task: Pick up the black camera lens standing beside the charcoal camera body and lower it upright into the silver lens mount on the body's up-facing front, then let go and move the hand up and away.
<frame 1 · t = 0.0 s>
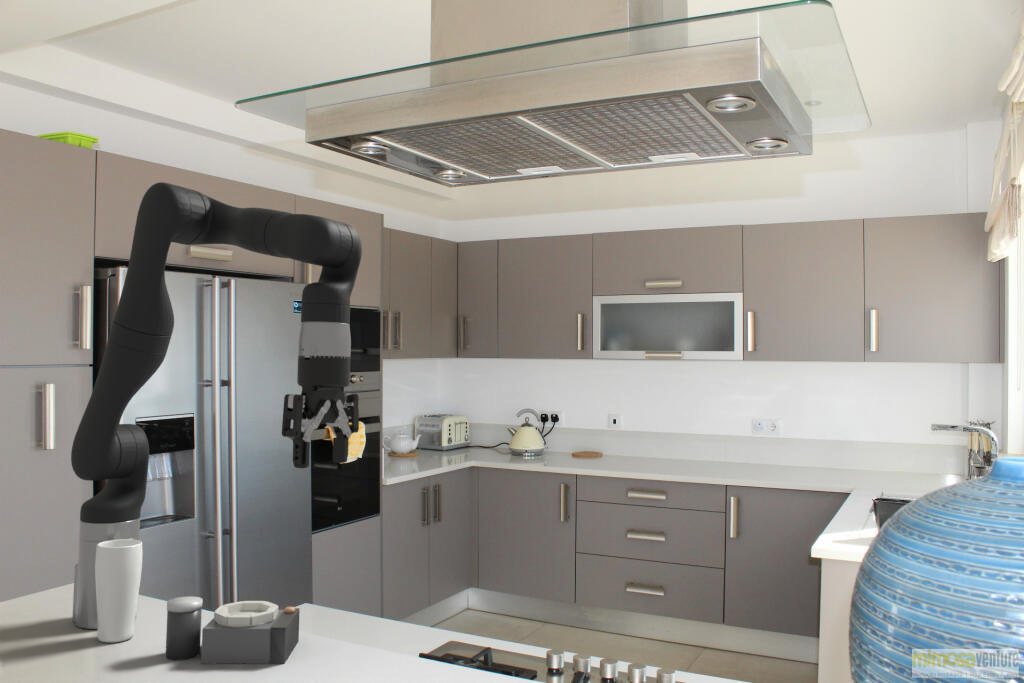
hand: (321, 465, 119), 29 cm above the counter, tool pointing down, fingers open, 8 cm apart
lens: (182, 654, 122), on the counter
camera body: (252, 651, 124), on the counter
drinking glass: (115, 639, 129), on the counter
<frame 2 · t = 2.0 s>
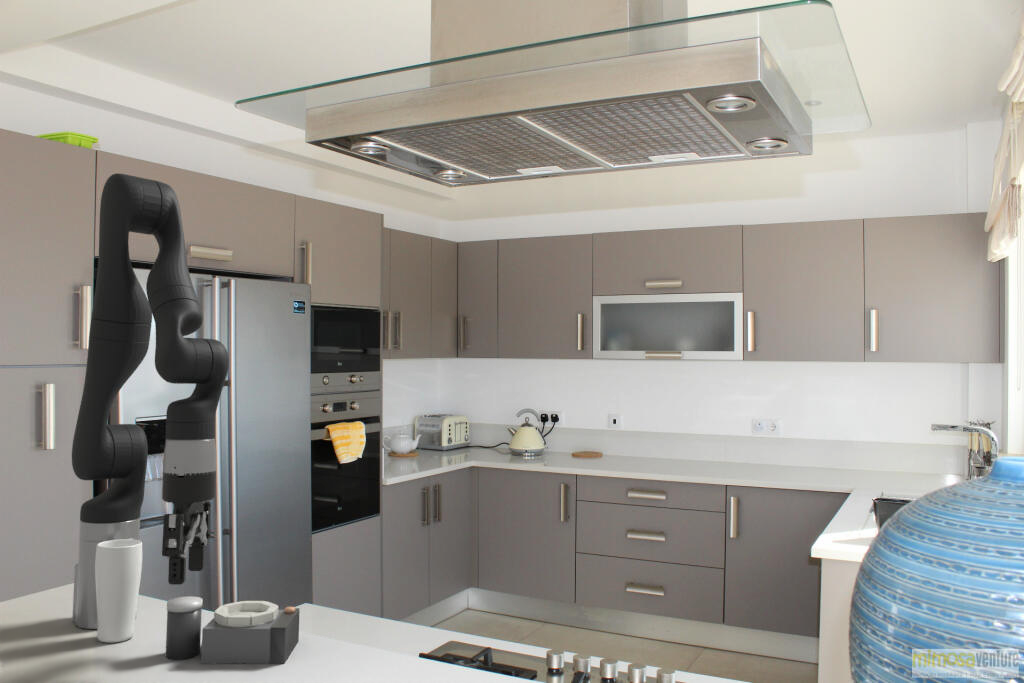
hand: (186, 577, 122), 12 cm above the counter, tool pointing down, fingers open, 8 cm apart
nothing on the counter moved.
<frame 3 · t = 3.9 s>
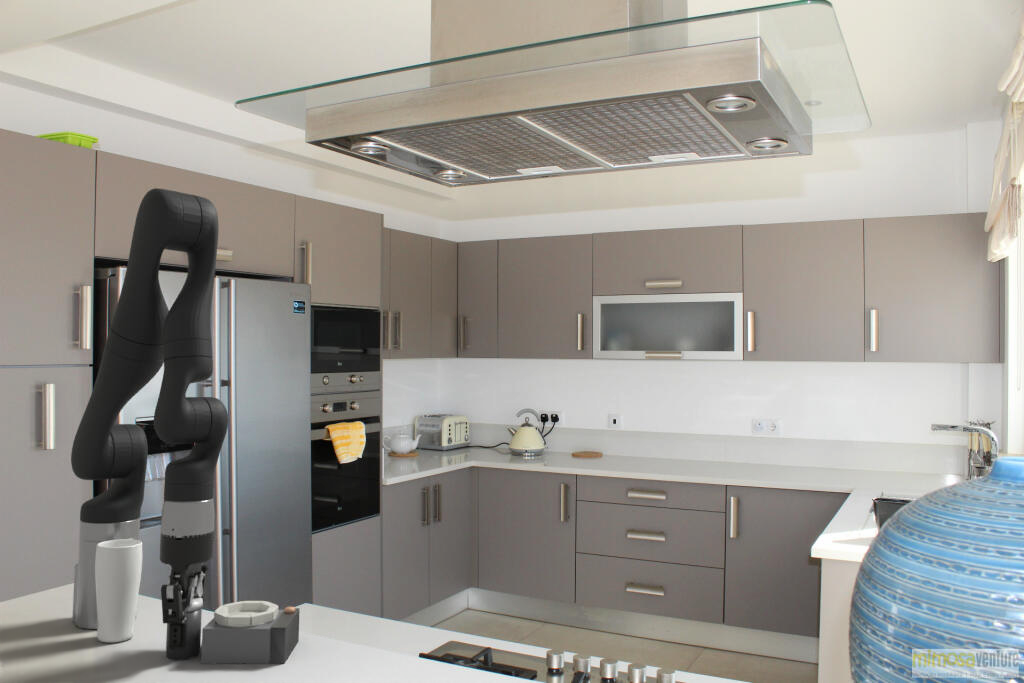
hand: (183, 642, 122), 2 cm above the counter, tool pointing down, fingers closed on lens, 4 cm apart
lens: (183, 654, 122), on the counter, touching gripper
everything else where it was.
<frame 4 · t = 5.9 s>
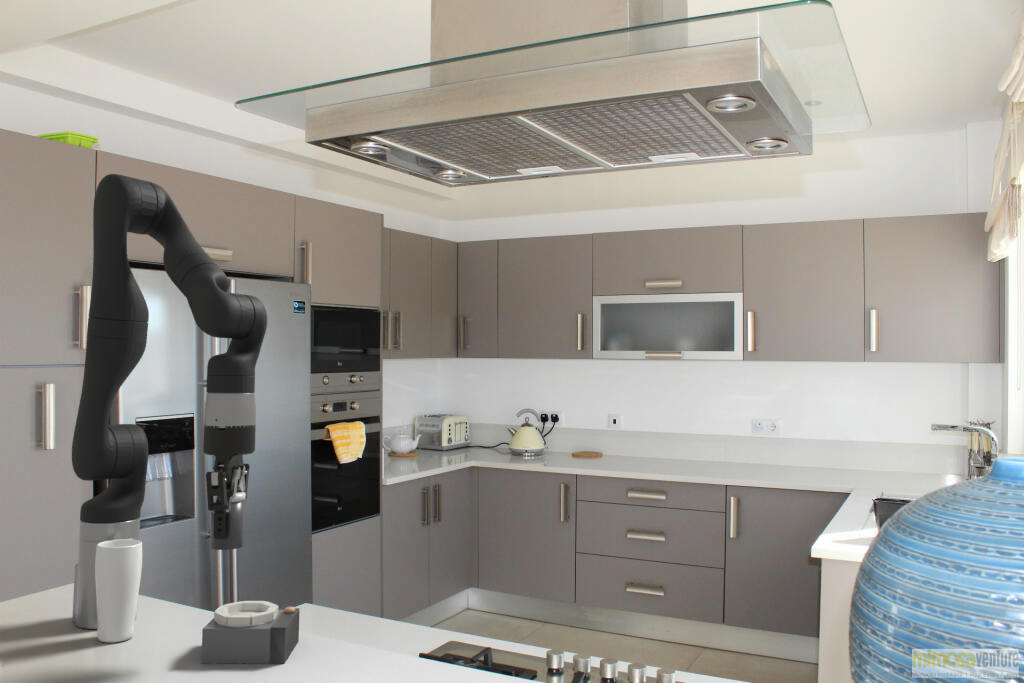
hand: (227, 534, 123), 18 cm above the counter, tool pointing down, fingers closed on lens, 4 cm apart
lens: (227, 546, 123), point 16 cm above the counter, touching gripper
everything else where it was.
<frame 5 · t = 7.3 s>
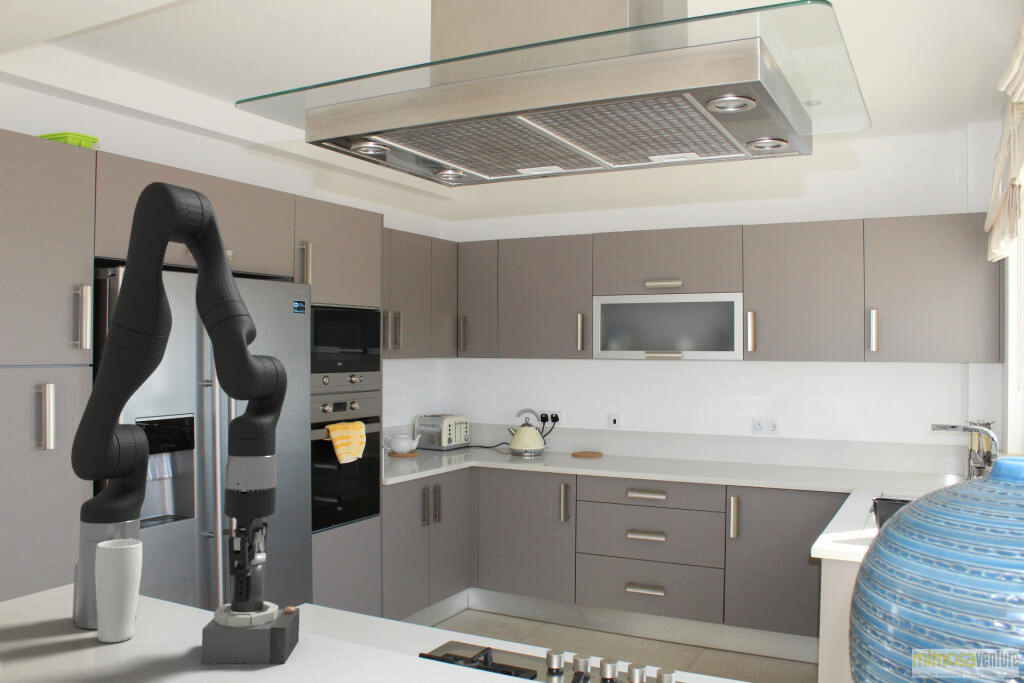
hand: (247, 596, 124), 8 cm above the counter, tool pointing down, fingers closed on lens, 4 cm apart
lens: (247, 607, 124), point 7 cm above the counter, touching gripper
everything else where it was.
when the fingers open (8 cm above the counter, at t = 8.2 s): lens stays where it is, resting on camera body.
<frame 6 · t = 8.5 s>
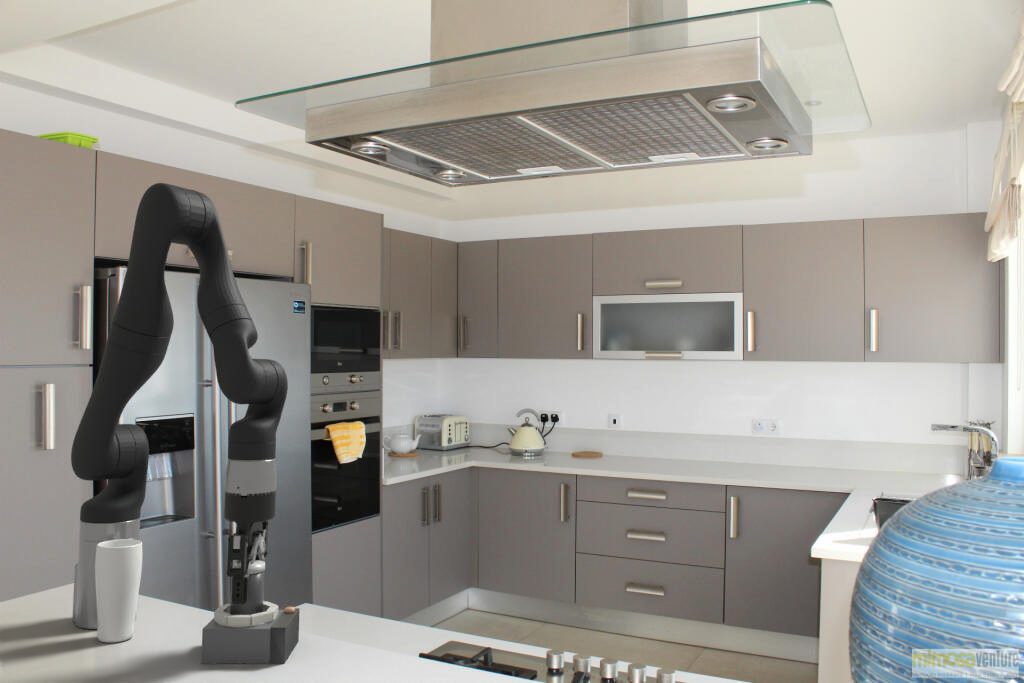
hand: (247, 595, 124), 8 cm above the counter, tool pointing down, fingers open, 7 cm apart
lens: (246, 616, 124), point 5 cm above the counter, touching camera body
everything else where it was.
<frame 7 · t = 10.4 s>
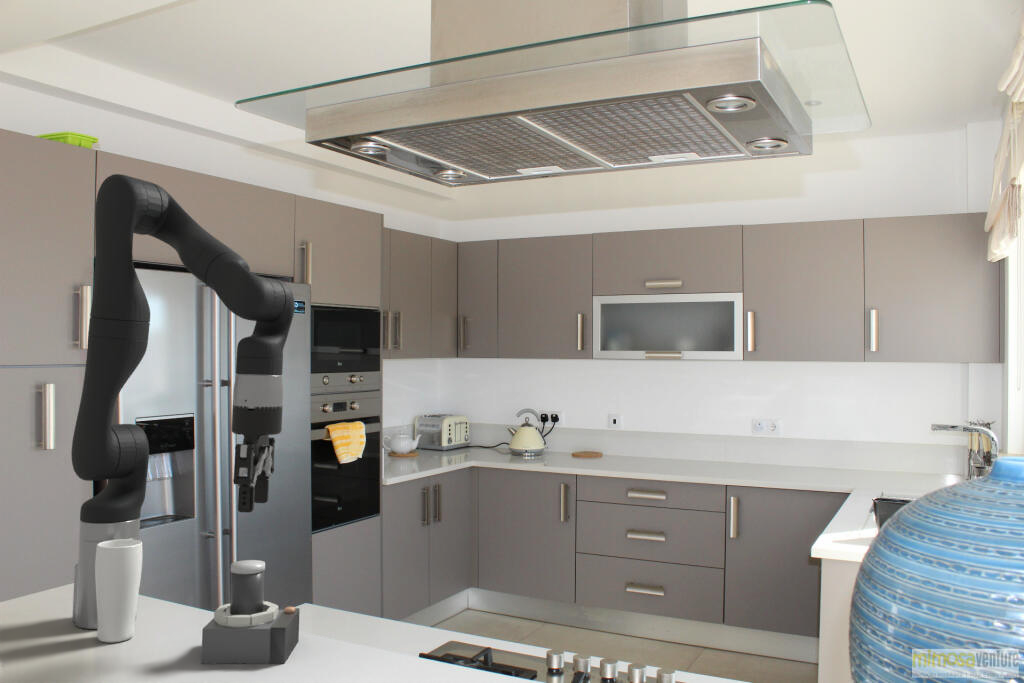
hand: (253, 507, 127), 22 cm above the counter, tool pointing down, fingers open, 8 cm apart
nothing on the counter moved.
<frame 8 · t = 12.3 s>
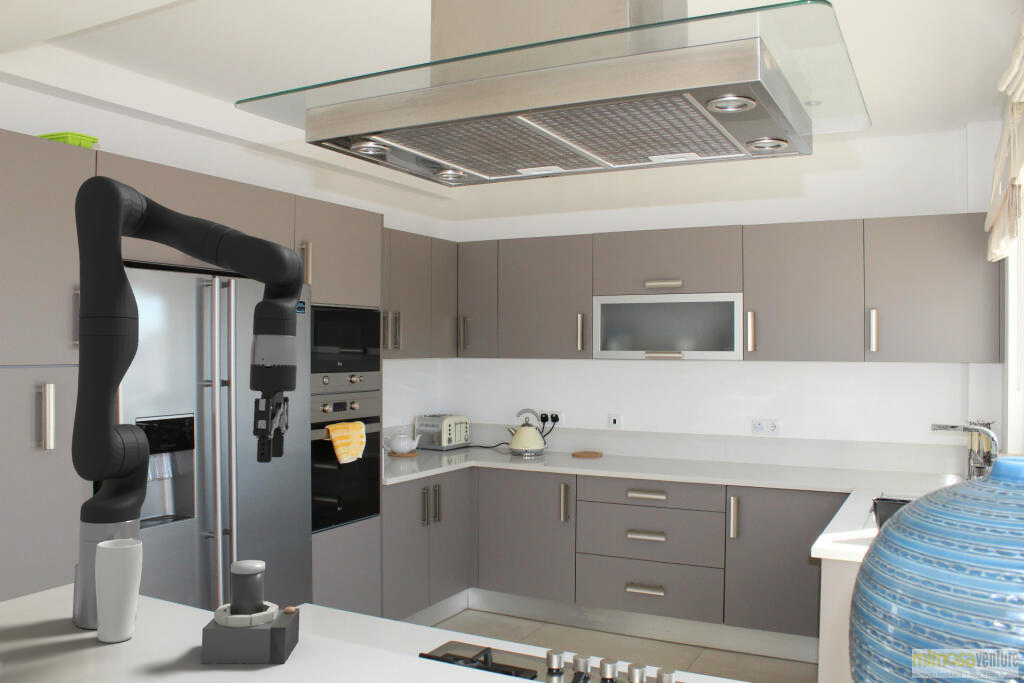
hand: (270, 459, 136), 28 cm above the counter, tool pointing down, fingers open, 8 cm apart
nothing on the counter moved.
at the end: lens 0.1 cm from the target spot, point 5.3 cm above the counter; lens tilted 0°; the gripper is holding nothing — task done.
